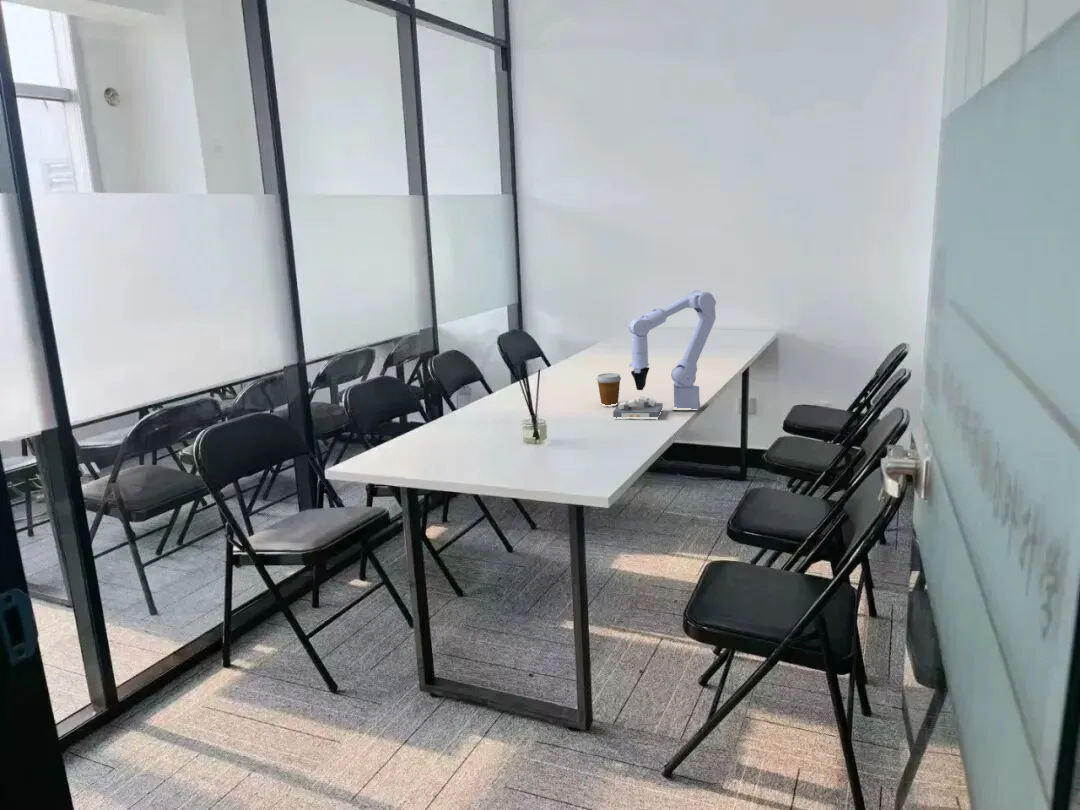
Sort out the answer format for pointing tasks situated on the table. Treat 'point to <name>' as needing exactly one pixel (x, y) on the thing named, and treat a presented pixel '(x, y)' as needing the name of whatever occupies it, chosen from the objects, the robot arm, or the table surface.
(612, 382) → the disposable coffee cup
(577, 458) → the table surface
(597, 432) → the table surface
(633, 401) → the rocker
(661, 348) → the table surface
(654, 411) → the console
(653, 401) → the rocker
